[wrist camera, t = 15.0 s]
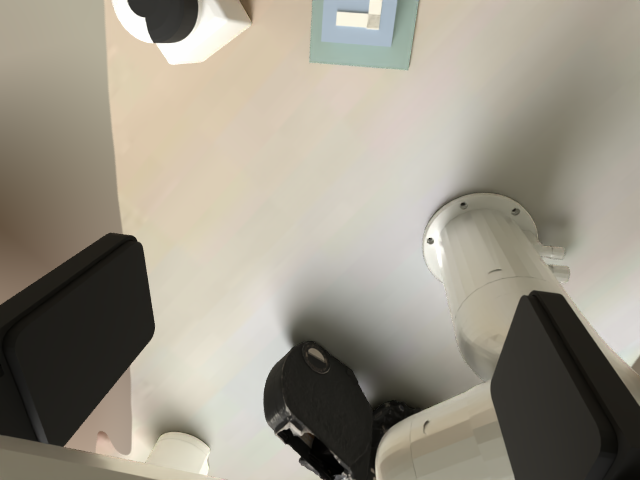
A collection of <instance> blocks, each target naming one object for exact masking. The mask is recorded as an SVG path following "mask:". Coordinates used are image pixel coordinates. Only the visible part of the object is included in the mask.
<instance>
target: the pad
mask: <svg viewBox="0 0 640 480" xmlns="http://www.w3.org/2000/svg"><path fill="white" fill-rule="evenodd" d="M418 2H419V0H397V7H396V14H395V22H394V29H393V37H392V44H391V47H384V46H371V45H359V44H346V43H333V42H321V34H322V19H323V3H324V0H312V20H311V40H310V61H309V62H311V63H323V64H336V65H349V66H361V67H374V68H386V69H399V70H408V68H409V61H410V55H411V48H412V42H413V35H414V28H415V22H416V15H417V9H418Z"/></svg>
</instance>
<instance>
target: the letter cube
mask: <svg viewBox="0 0 640 480" xmlns="http://www.w3.org/2000/svg"><path fill="white" fill-rule="evenodd" d="M396 7H397V0H324V3H323V19H322V34H321V42H333V43H346V44H359V45H371V46H384V47H391V44H392V37H393V29H394V22H395V14H396Z"/></svg>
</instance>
